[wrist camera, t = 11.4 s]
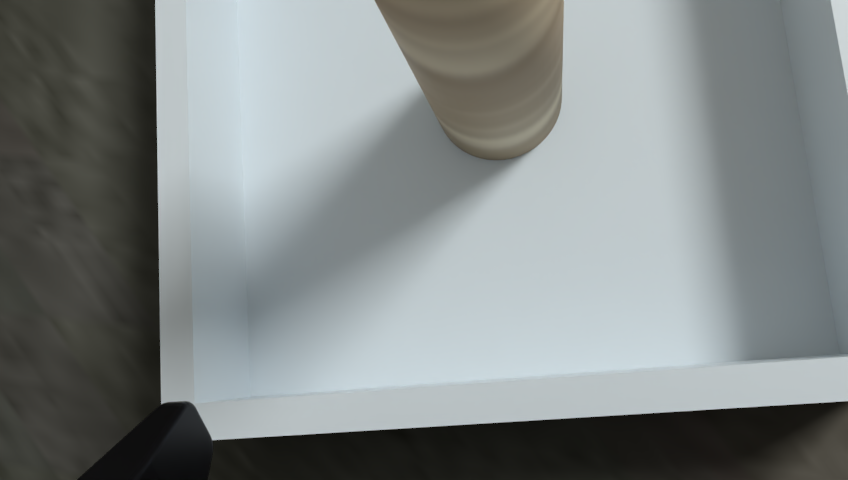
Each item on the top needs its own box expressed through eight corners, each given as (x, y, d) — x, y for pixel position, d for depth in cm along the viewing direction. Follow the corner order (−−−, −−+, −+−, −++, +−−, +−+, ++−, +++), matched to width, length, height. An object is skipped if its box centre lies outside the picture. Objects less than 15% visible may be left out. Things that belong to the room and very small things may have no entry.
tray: (874, 386, 17) (951, 394, 13) (233, 427, 20) (161, 443, 16) (768, -219, 19) (809, -341, 16) (216, -105, 22) (152, -188, 19)
